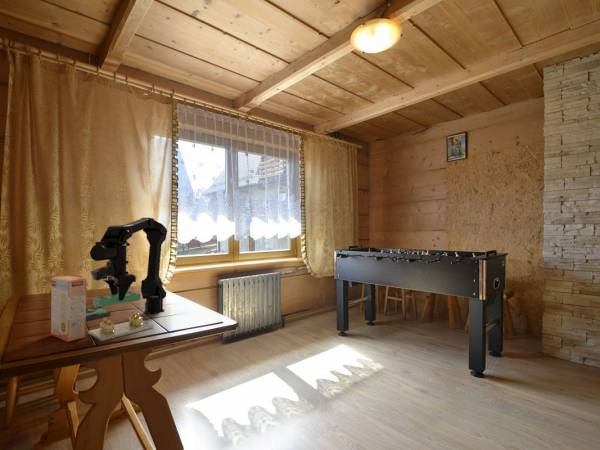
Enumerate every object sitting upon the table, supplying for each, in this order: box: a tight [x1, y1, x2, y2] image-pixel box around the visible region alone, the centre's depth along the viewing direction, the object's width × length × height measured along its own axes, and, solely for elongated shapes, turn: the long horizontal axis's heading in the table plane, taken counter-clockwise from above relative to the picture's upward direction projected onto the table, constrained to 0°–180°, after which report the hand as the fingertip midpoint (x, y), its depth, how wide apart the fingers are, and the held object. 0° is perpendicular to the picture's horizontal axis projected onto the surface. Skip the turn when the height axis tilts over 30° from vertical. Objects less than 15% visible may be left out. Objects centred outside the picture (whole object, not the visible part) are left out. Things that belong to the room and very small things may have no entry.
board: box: [92, 291, 141, 308], centre depth 116 cm, size 14×6×2 cm, turn 140°
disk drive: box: [86, 305, 111, 322], centre depth 134 cm, size 10×3×15 cm
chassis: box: [88, 311, 155, 342], centre depth 114 cm, size 18×12×6 cm, turn 141°
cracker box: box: [50, 275, 87, 343], centre depth 108 cm, size 14×6×21 cm, turn 57°
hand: (117, 299), depth 116 cm, fingers closed on board, 6 cm apart
